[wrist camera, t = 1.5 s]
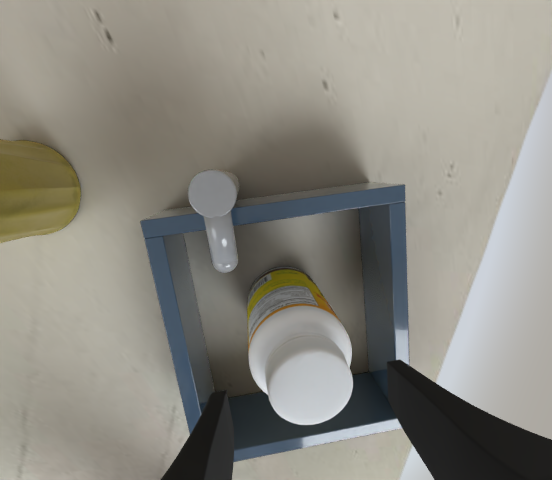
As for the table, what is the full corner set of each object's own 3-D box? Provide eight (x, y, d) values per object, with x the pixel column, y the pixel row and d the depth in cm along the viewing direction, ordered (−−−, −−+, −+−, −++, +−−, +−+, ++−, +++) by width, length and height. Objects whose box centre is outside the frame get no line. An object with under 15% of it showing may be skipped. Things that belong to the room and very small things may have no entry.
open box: (380, 379, 26) (449, 484, 17) (206, 411, 25) (186, 541, 16) (368, 152, 22) (452, 138, 13) (157, 179, 21) (93, 184, 12)
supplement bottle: (316, 328, 24) (366, 436, 14) (247, 332, 24) (250, 447, 14) (318, 262, 23) (375, 330, 13) (246, 264, 22) (247, 337, 13)
